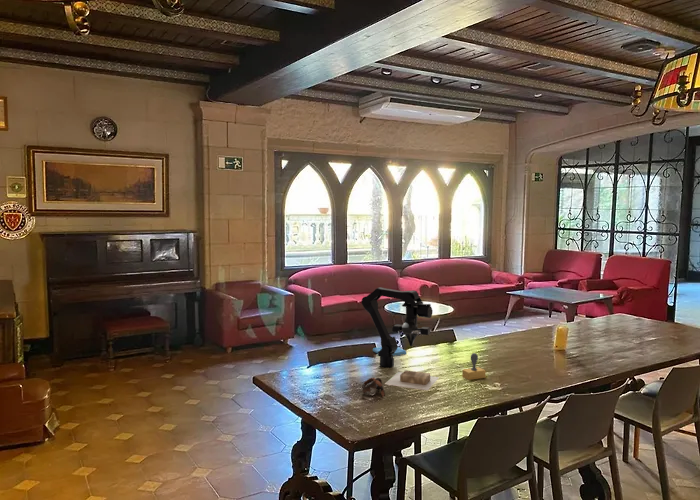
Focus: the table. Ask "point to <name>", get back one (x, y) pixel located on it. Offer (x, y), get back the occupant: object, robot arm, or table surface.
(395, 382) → the grey rubber mat
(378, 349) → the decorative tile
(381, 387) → the brown arched piece
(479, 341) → the table surface
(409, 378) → the oak tile
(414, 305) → the robot arm
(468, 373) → the rubber stamp
